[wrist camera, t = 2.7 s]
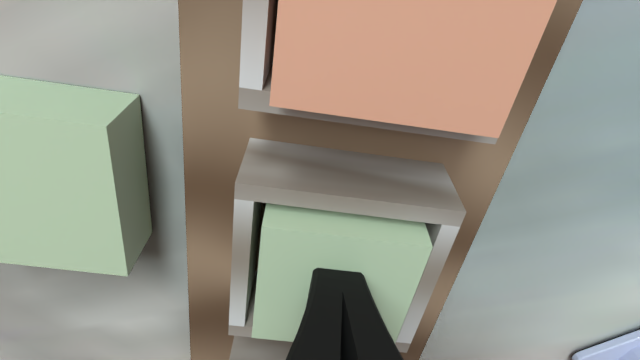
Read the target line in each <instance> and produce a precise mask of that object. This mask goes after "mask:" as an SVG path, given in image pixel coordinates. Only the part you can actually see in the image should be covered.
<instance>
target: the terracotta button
mask: <svg viewBox="0 0 640 360" xmlns="http://www.w3.org/2000/svg"><path fill="white" fill-rule="evenodd" d="M556 2H557V0H278V10H277V22H276V34H275V45H274V57H273V68H272V80H271V91H270V103H269V106H272V107H280V108H287V109H294V110H301V111H308V112H315V113H322V114H329V115H336V116H343V117H351V118H358V119H365V120H372V121H379V122H386V123H393V124H400V125H407V126H415V127H422V128H429V129H436V130H443V131H450V132H457V133H464V134H471V135H478V136H486V137H493V138H499V136H500V134H501V131H502V129H503V127H504V124H505V122H506V120H507V117H508V115H509V113H510V110H511V108H512V106H513V103H514V101H515V98H516V96H517V94H518V91H519V89H520V87H521V84H522V82H523V80H524V77H525V75H526V73H527V70H528V68H529V66H530V63H531V61H532V59H533V56H534V54H535V51H536V49H537V47H538V44H539V42H540V40H541V37H542V35H543V33H544V30H545V28H546V26H547V23H548V21H549V19H550V16H551V14H552V12H553V9H554V7H555V4H556Z"/></svg>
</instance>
